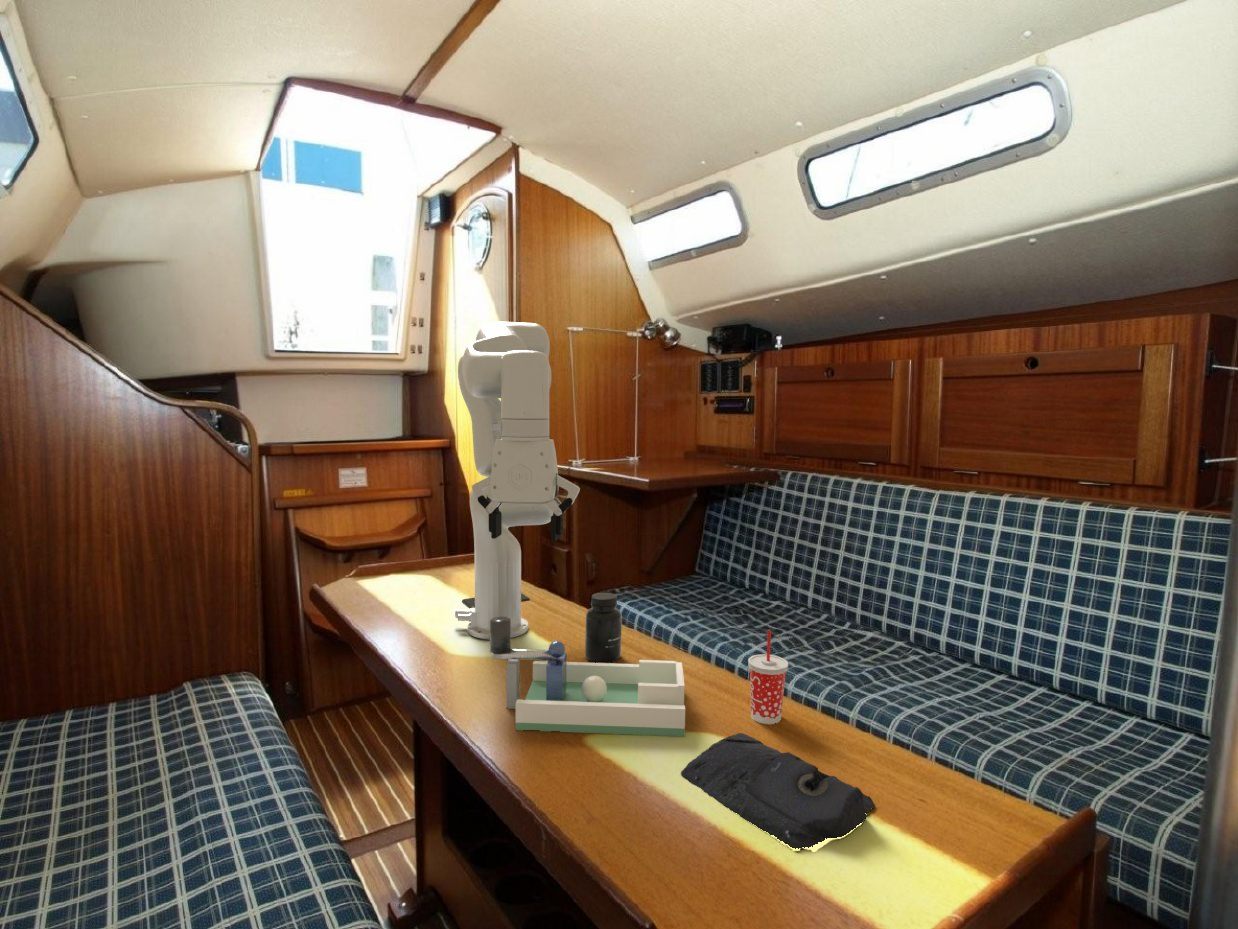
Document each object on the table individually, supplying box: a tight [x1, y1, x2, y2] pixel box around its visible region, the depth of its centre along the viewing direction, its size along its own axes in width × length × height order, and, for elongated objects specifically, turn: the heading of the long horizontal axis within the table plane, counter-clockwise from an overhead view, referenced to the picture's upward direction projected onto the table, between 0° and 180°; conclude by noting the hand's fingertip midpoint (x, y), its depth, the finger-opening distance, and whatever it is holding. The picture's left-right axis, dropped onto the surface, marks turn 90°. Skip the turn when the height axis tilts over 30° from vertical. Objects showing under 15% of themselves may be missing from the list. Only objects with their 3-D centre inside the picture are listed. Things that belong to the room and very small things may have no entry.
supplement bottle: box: [584, 592, 623, 663], centre depth 129 cm, size 7×7×12 cm
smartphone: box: [461, 592, 531, 610], centre depth 164 cm, size 7×1×15 cm
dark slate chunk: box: [680, 732, 876, 849], centre depth 87 cm, size 15×22×5 cm
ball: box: [582, 676, 607, 702], centre depth 108 cm, size 4×4×4 cm
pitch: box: [505, 659, 686, 737], centre depth 108 cm, size 28×16×7 cm, turn 87°
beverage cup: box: [747, 629, 789, 725], centre depth 106 cm, size 6×6×14 cm
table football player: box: [489, 617, 568, 701], centre depth 108 cm, size 12×6×12 cm, turn 87°
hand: (525, 538), depth 109 cm, fingers open, 9 cm apart
